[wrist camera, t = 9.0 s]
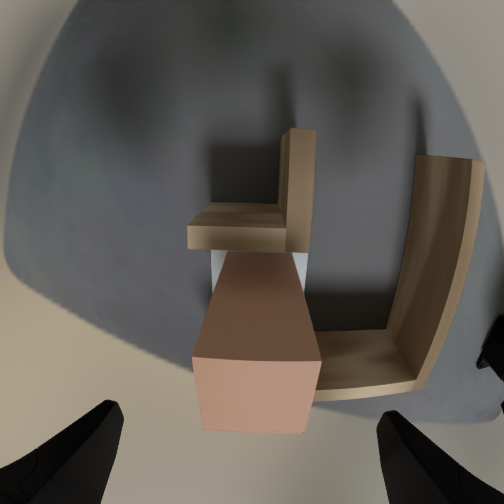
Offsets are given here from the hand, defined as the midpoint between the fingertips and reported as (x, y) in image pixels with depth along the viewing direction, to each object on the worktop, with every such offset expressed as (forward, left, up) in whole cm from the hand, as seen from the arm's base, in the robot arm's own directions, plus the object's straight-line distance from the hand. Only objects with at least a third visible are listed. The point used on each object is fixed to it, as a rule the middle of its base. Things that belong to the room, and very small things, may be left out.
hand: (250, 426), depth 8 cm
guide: (-4, -2, -12) cm, 12 cm away
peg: (0, 0, -11) cm, 11 cm away
